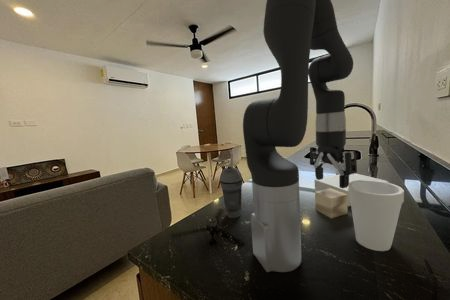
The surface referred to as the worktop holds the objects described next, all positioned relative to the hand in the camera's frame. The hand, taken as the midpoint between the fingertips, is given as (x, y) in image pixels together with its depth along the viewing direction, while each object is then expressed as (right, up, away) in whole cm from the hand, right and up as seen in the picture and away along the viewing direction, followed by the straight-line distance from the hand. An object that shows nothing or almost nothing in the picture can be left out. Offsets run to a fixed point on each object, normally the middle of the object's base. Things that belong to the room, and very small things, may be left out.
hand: (330, 183), depth 57 cm
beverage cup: (-29, -11, +4) cm, 31 cm away
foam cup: (+2, -11, -14) cm, 18 cm away
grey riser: (+14, -6, +12) cm, 19 cm away
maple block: (+1, -9, +1) cm, 9 cm away
